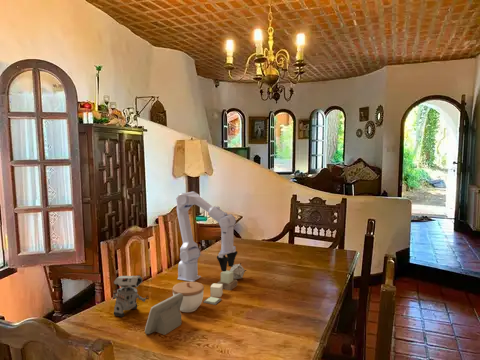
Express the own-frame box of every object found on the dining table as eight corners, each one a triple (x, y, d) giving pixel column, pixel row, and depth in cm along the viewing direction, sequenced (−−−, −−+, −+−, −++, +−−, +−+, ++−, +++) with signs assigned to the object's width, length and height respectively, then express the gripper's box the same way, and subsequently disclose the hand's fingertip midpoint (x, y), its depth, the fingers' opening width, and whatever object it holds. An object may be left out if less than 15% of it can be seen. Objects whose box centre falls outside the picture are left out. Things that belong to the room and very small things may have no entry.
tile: (202, 302, 149) (202, 300, 149) (209, 297, 154) (209, 295, 154) (215, 305, 146) (215, 303, 146) (221, 299, 152) (221, 298, 152)
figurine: (134, 320, 133) (133, 282, 132) (110, 315, 137) (109, 277, 136) (149, 310, 141) (148, 274, 140) (126, 305, 145) (125, 270, 144)
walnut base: (217, 288, 165) (217, 282, 165) (224, 283, 172) (224, 277, 171) (230, 291, 162) (230, 284, 162) (237, 286, 168) (237, 280, 168)
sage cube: (220, 282, 166) (220, 272, 165) (225, 279, 170) (225, 269, 169) (229, 283, 164) (229, 274, 163) (233, 280, 168) (233, 271, 167)
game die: (239, 287, 176) (243, 276, 169) (224, 280, 177) (227, 268, 171) (245, 274, 182) (249, 262, 176) (231, 267, 184) (234, 255, 178)
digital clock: (175, 316, 137) (175, 289, 136) (190, 323, 131) (190, 295, 130) (139, 331, 125) (138, 302, 124) (153, 340, 119) (153, 310, 118)
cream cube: (210, 296, 155) (210, 287, 155) (212, 292, 159) (212, 283, 159) (220, 297, 154) (220, 287, 154) (222, 293, 159) (222, 283, 158)
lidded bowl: (178, 318, 135) (177, 290, 134) (168, 305, 146) (168, 279, 145) (208, 311, 140) (208, 284, 140) (197, 299, 152) (197, 275, 151)
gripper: (228, 245, 157) (228, 274, 158) (241, 238, 170) (241, 265, 171) (214, 243, 160) (214, 272, 161) (228, 236, 173) (228, 263, 174)
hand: (227, 268), depth 166 cm, fingers open, 7 cm apart
